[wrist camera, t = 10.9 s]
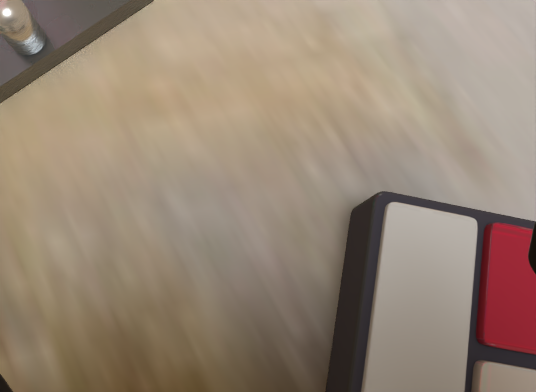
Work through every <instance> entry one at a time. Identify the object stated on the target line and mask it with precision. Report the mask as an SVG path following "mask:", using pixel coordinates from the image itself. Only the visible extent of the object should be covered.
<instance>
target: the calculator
mask: <svg viewBox="0 0 536 392" xmlns="http://www.w3.org/2000/svg"><path fill="white" fill-rule="evenodd" d="M534 223H535V221H530V220H525V219H520V218H515V217H510V216H505V215H500V214H496V213H491V212H486V211H481V210H476V209H471V208H466V207H461V206H456V205H451V204H446V203H441V202H436V201H431V200H426V199H421V198H417V197H412V196H407V195H402V194H397V193H392V192H385V191H382V192H379V193H377V194H375V195H374V196H372V197H371V198H369V199H367V200H366V201H364V202H363V203H361V204H360V205H358V206H357V207H355V208H354V209H353V210H352V213H351V217H350V224H349V231H348V238H347V245H346V252H345V259H344V266H343V273H342V280H341V287H340V294H339V301H338V308H337V315H336V322H335V329H334V336H333V343H332V351H331V358H330V365H329V372H328V379H327V386H326V392H536V274H535V273H534V271H533V270H532V268H531V266H530V264H529V260H528V251H529V246H530V241H531V237H532V232H533V227H534Z"/></svg>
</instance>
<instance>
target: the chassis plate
mask: <svg viewBox="0 0 536 392" xmlns="http://www.w3.org/2000/svg"><path fill="white" fill-rule="evenodd" d="M152 1H153V0H0V102H2V101H3V100H5V99H6V98H8V97H9V96H11V95H12V94H14V93H15V92H17V91H18V90H20V89H21V88H23V87H24V86H26V85H27V84H29V83H30V82H32V81H33V80H35V79H36V78H38V77H39V76H41V75H42V74H44V73H45V72H47V71H48V70H50V69H51V68H53V67H54V66H56V65H57V64H59V63H60V62H62V61H63V60H65V59H66V58H68V57H69V56H71V55H72V54H74V53H75V52H77V51H78V50H80V49H81V48H83V47H84V46H86V45H87V44H89V43H90V42H92V41H93V40H95V39H96V38H98V37H99V36H101V35H102V34H104V33H105V32H107V31H108V30H110V29H111V28H113V27H114V26H116V25H117V24H119V23H120V22H122V21H123V20H125V19H126V18H128V17H129V16H131V15H132V14H134V13H135V12H137V11H138V10H140V9H141V8H143V7H144V6H146V5H147V4H149V3H150V2H152Z"/></svg>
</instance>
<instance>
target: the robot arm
mask: <svg viewBox="0 0 536 392" xmlns="http://www.w3.org/2000/svg"><path fill="white" fill-rule="evenodd" d="M528 260H529V264H530V266H531V268H532V270H533V271H534V273H535V274H536V222H535V223H534V227H533V232H532V237H531V241H530V246H529V251H528ZM0 392H13V391H12V389H11V388H10V387H9V385H8V384H7V382H6V381H5V380H4V378H3V377H2V376H1V374H0Z"/></svg>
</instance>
